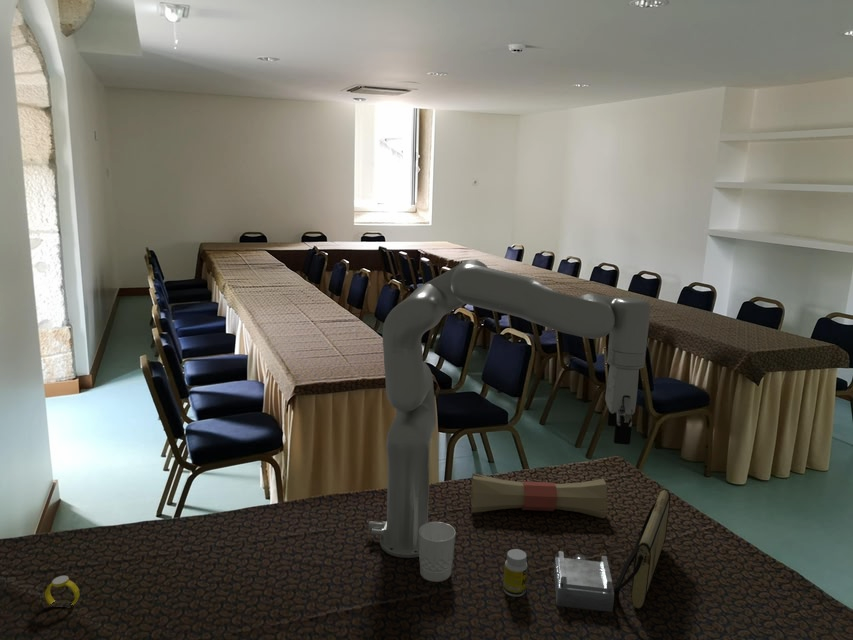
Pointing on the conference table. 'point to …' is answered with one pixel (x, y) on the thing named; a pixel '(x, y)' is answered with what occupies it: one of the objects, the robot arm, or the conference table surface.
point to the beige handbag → (647, 550)
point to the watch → (58, 583)
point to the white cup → (436, 550)
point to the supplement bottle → (515, 573)
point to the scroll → (538, 495)
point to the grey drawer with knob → (583, 583)
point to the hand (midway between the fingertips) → (618, 434)
